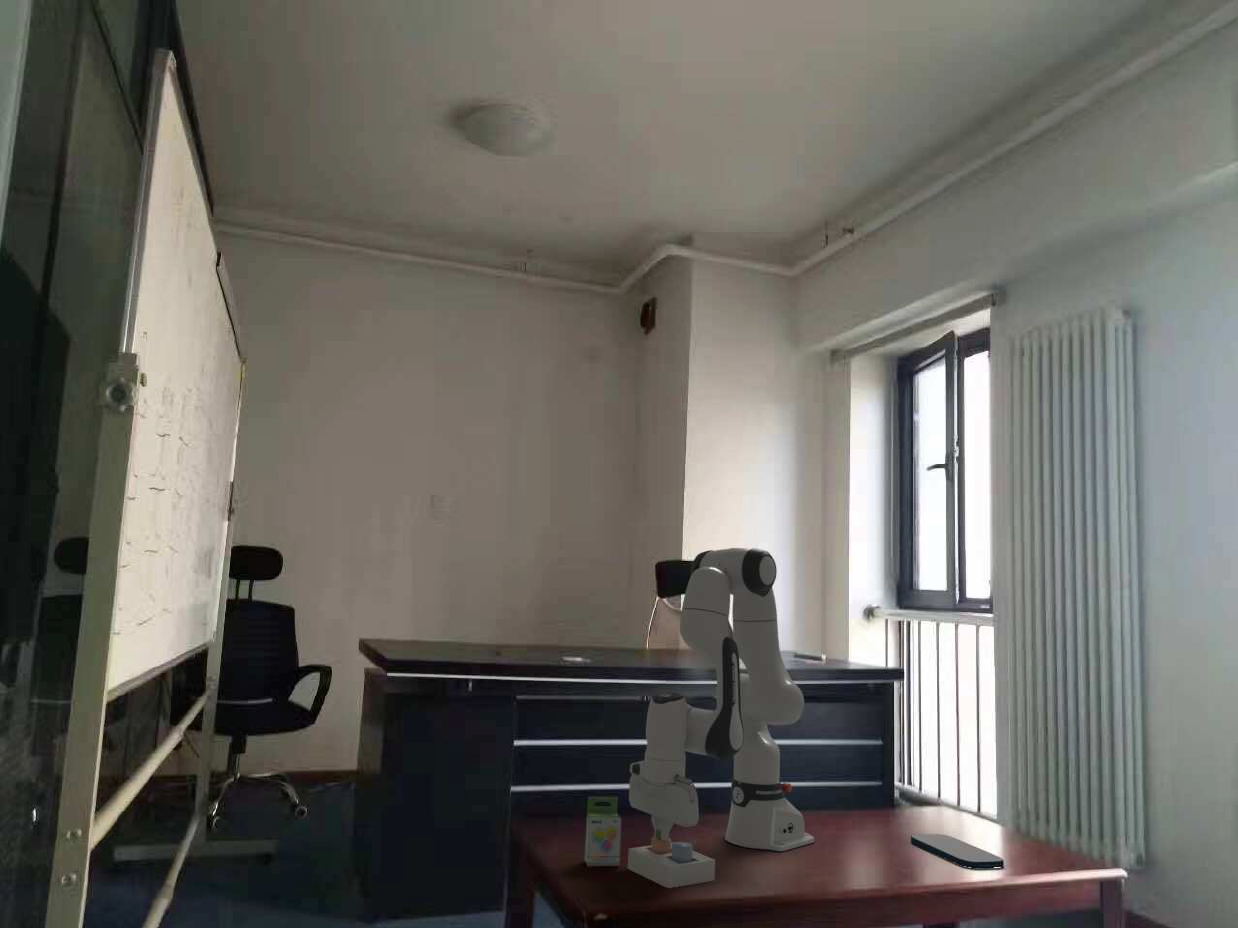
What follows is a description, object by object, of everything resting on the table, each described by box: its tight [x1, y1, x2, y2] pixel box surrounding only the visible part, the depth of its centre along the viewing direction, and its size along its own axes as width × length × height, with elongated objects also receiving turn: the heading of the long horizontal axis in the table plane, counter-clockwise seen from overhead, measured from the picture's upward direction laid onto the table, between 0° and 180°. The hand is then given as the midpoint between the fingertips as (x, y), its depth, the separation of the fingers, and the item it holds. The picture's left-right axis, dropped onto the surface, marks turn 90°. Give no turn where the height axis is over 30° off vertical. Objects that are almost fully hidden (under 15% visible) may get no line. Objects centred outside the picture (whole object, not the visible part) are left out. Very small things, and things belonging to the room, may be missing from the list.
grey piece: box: [672, 841, 694, 864], centre depth 181 cm, size 4×4×4 cm
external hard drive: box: [910, 833, 1005, 868], centre depth 212 cm, size 24×12×2 cm, turn 17°
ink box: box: [583, 796, 622, 867], centre depth 189 cm, size 7×4×13 cm, turn 103°
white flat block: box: [627, 842, 716, 889], centre depth 184 cm, size 12×14×4 cm
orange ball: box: [650, 837, 673, 854], centre depth 187 cm, size 4×4×4 cm
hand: (661, 838), depth 187 cm, fingers closed, pressing on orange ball
